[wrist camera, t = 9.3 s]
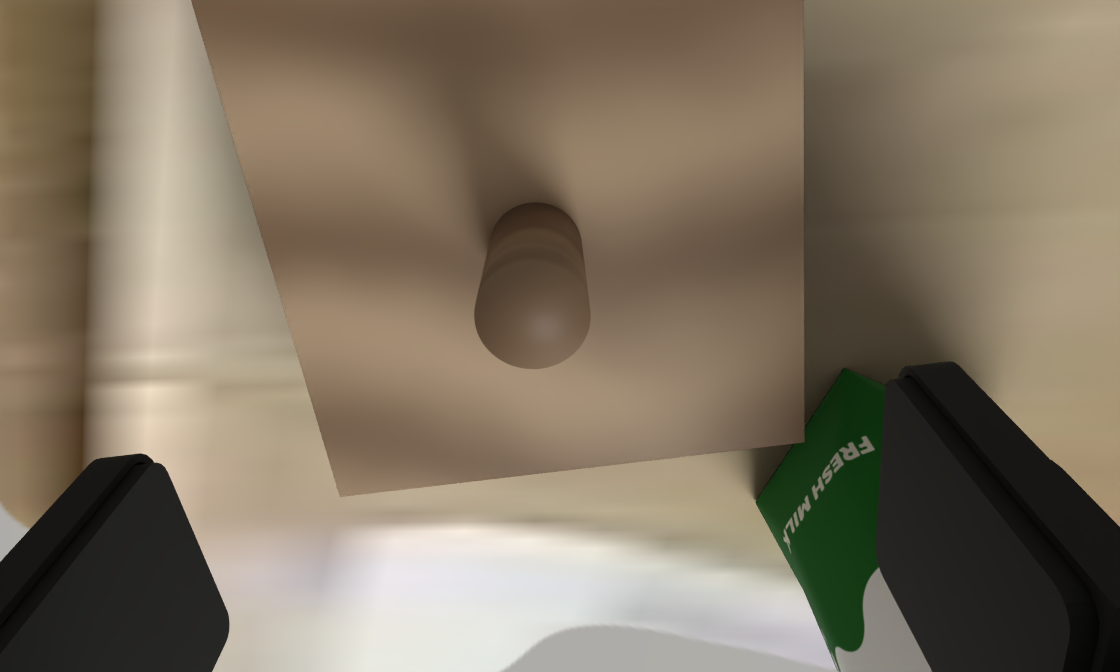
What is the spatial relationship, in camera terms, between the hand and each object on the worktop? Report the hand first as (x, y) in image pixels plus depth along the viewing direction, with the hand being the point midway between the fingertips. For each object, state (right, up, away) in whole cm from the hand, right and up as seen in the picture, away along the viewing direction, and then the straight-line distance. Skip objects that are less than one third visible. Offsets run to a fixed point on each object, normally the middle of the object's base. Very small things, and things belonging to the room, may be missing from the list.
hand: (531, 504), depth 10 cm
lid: (0, +5, +13) cm, 14 cm away
